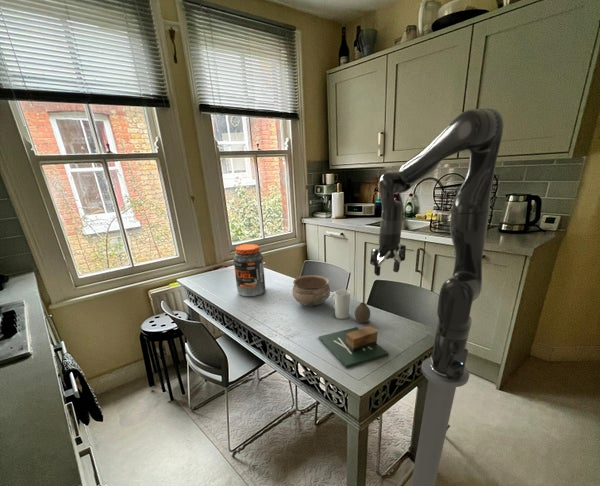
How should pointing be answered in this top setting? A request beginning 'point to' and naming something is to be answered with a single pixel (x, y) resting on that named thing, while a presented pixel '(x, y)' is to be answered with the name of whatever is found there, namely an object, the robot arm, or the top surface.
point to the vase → (362, 313)
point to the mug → (341, 303)
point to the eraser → (361, 338)
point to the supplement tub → (249, 270)
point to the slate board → (346, 355)
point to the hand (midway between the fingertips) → (386, 273)
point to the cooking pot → (311, 290)
